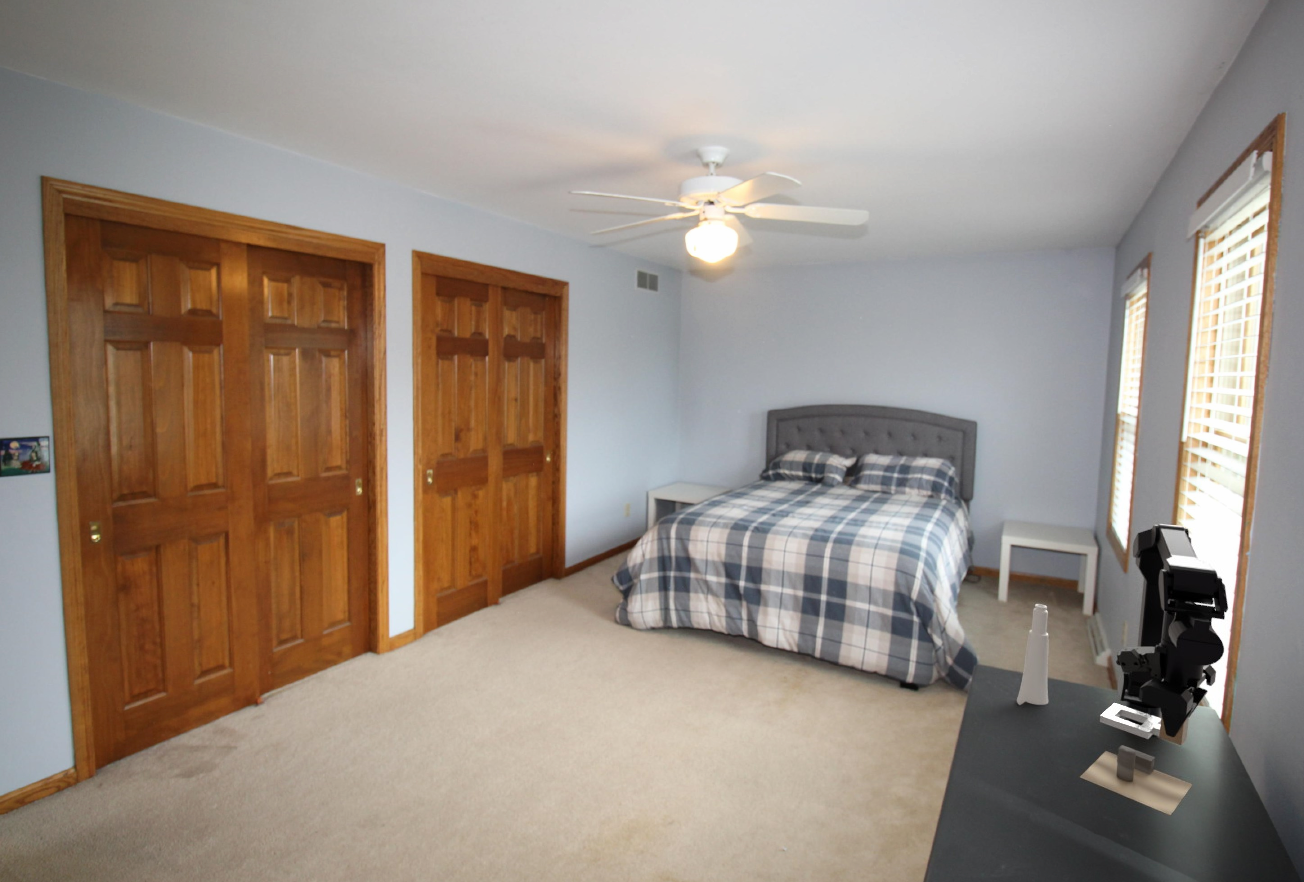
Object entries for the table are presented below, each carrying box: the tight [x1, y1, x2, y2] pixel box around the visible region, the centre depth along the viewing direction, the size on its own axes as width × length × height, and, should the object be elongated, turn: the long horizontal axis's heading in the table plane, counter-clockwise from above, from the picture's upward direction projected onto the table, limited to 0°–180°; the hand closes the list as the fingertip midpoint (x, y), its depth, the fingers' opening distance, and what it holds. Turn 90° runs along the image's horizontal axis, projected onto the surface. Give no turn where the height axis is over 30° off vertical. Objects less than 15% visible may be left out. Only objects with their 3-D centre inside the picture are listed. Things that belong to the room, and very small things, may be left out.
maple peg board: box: [1079, 744, 1193, 816], centre depth 119 cm, size 13×13×6 cm
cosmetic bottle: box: [1016, 603, 1050, 706], centre depth 148 cm, size 6×6×22 cm
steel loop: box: [1099, 702, 1190, 746], centre depth 117 cm, size 7×11×6 cm, turn 40°
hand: (1173, 732), depth 115 cm, fingers closed on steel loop, 3 cm apart
